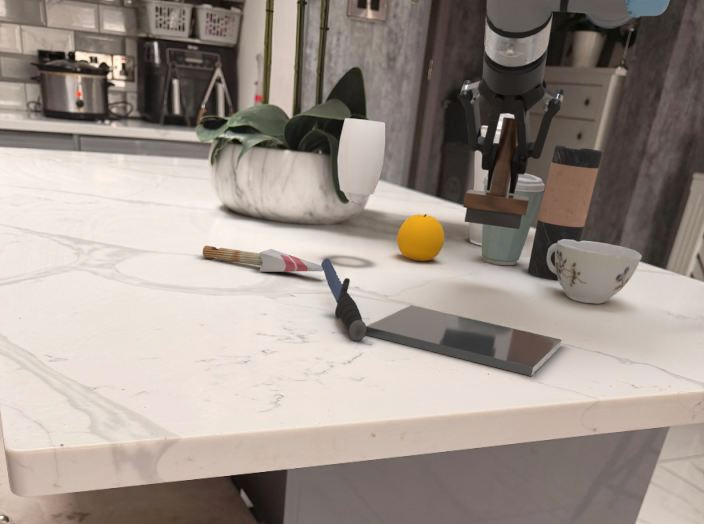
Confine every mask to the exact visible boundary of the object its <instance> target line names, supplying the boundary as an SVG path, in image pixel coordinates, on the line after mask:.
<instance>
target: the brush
mask: <svg viewBox="0 0 704 524" xmlns="http://www.w3.org/2000/svg"><path fill="white" fill-rule="evenodd" d="M502 117H503V116H502ZM516 147H517V129H516V124H515V117H512V118H508V117H503V122H502V127H501V132H500V138H499V143H498V149H497V154H496V159H495V165H494V170H493V175H492V180H491V186H490V191H489V192H485V191H477V190H474V189H467V190H466V192H465V193H464V194H465V195H464V200H463V206H462V207H463V208H466V210H465V216H464V223H469V222H470V223H477V224H484V225H492V226H499V227H507V228H514V229H519V228H520V223H521V218H522V215H526V212H527V207H528V202H529V197H524V196H516V195H508V194H507V193H508V188H509V183H510V178H511V170H512V161H513V158H514V154H515V150H516Z"/></svg>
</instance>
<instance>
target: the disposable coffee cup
mask: <svg viewBox="0 0 704 524" xmlns="http://www.w3.org/2000/svg"><path fill="white" fill-rule="evenodd" d="M510 180H511V178H510ZM487 182H488V175H487V176H485V177H484V181H483V184H484V191H485V192H489V190H487ZM545 187H546V184H545V183H544V182H543V179H542V178H540V177H538V176H536V175H533V174H530V173H526V172H525V174H524V175H522V174H519V176H518V181H517V185H516V189H515V192H514V194H511V193H509V189H510V183H509V188H508V193H507V194H508V195H516V196H524V197H529V202H528V207H527V212H526V215H522V218H521V223H520V228H519V229H514V228H507V227H499V226H492V225H484V224H483V228H482V246H481V252H480V253H481V256H482V257H481V259H482V261H483V262H486V263H488V264H493V265H497V266H498V265H499V266H514V265H517V263H518V261H520V259H521V255H522V252H523V249H524V247H525V244H526V240H527V238H528V235H529V233H530V230H531V226H532V223H533V221H534V218H535V215H536V212H537V209H538V206H539V203H540V200H541V198H542V195H543V194H544V192H545Z"/></svg>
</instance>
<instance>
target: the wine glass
mask: <svg viewBox="0 0 704 524" xmlns="http://www.w3.org/2000/svg"><path fill="white" fill-rule="evenodd" d="M385 149H386V123H385V122H383V121H376V120H370V119H361V118H360V119H359V118H351V117H348V118H347V117H346V118H344V122H343V125H342V129H341V133H340V138H339V145H338V152H337V159H336V160H337V178H338V184H339V190H340V191H341V192H343V194H344V196H345V197H346V199H347V200H348V201H350V202H352V203H353V204H355V205H356V204H359V203H362V202H365V201H366V200H367V199H368V198H369V197H370V196H371V195H374V193H375V191H376V189H377V186H378V184H379V182H380V177H381V174H382V171H383V167H384V161H385Z"/></svg>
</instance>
